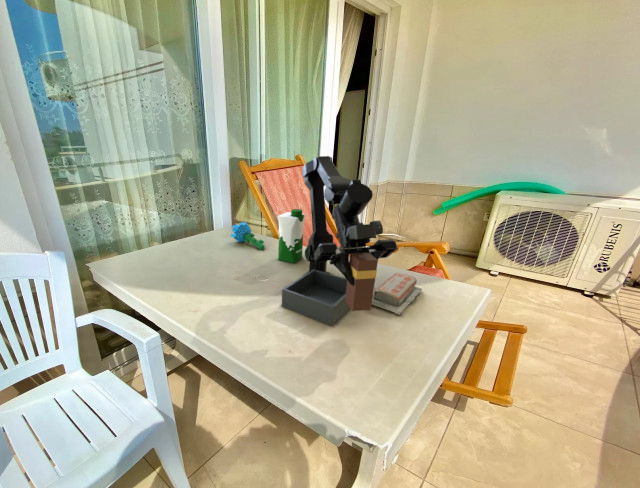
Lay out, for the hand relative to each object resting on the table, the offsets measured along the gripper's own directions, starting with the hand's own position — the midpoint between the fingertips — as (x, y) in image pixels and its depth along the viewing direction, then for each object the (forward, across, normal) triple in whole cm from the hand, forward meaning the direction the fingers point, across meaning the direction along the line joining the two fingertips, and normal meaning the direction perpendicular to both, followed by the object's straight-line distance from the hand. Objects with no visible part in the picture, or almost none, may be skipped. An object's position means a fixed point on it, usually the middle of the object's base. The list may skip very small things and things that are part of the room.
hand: (363, 284), depth 70 cm
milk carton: (-25, -5, +45) cm, 52 cm away
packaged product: (-1, +18, +20) cm, 27 cm away
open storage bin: (-1, -4, +20) cm, 20 cm away
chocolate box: (+4, 0, +6) cm, 7 cm away
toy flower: (-39, -19, +59) cm, 73 cm away
